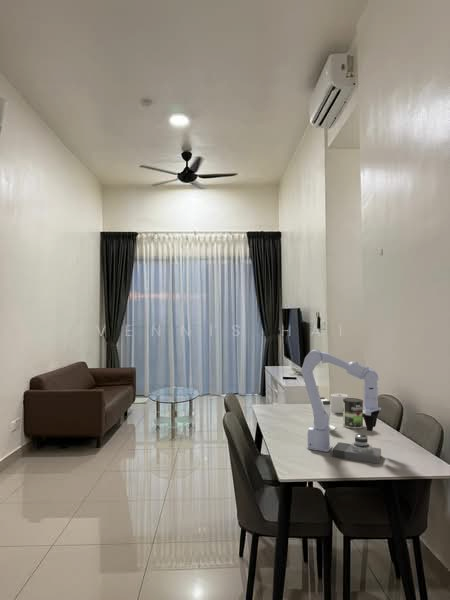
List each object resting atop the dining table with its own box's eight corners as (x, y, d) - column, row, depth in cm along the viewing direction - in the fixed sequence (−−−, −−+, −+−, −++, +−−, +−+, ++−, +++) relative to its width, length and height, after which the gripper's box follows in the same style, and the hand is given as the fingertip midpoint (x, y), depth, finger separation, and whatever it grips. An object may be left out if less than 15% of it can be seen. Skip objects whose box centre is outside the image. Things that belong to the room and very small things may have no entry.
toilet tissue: (348, 410, 264) (348, 394, 264) (348, 414, 252) (348, 397, 253) (331, 408, 267) (331, 393, 267) (330, 413, 256) (329, 396, 256)
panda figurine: (310, 424, 229) (310, 396, 230) (331, 424, 230) (330, 396, 231) (316, 430, 218) (316, 401, 218) (338, 430, 218) (338, 401, 219)
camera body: (332, 456, 178) (332, 444, 179) (338, 449, 188) (338, 437, 188) (377, 464, 170) (377, 451, 170) (381, 455, 180) (381, 443, 180)
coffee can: (367, 428, 223) (366, 401, 223) (349, 429, 220) (349, 402, 221) (356, 423, 233) (355, 397, 233) (339, 424, 230) (339, 398, 231)
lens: (354, 450, 177) (354, 436, 177) (355, 447, 182) (355, 433, 182) (367, 452, 175) (367, 437, 175) (368, 448, 180) (367, 434, 180)
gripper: (377, 401, 176) (378, 434, 175) (383, 395, 188) (383, 425, 188) (360, 399, 179) (360, 431, 179) (366, 393, 192) (367, 423, 191)
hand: (371, 428), depth 184 cm, fingers open, 7 cm apart
